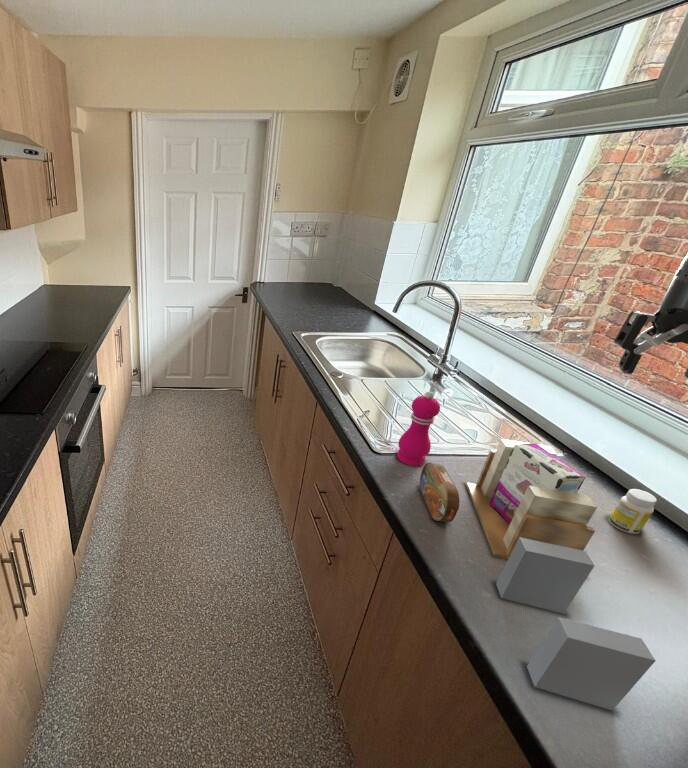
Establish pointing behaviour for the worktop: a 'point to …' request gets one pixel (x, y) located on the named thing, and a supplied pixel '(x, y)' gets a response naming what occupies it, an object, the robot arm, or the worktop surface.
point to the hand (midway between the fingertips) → (657, 375)
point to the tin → (439, 492)
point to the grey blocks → (571, 628)
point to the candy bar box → (531, 477)
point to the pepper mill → (418, 431)
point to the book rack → (530, 510)
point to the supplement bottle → (633, 511)
